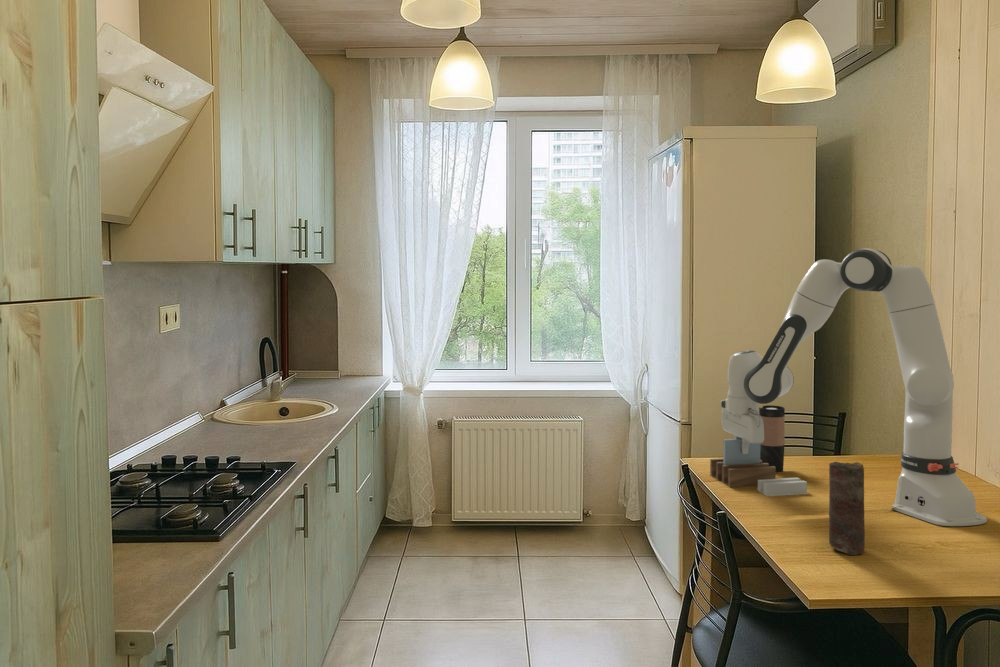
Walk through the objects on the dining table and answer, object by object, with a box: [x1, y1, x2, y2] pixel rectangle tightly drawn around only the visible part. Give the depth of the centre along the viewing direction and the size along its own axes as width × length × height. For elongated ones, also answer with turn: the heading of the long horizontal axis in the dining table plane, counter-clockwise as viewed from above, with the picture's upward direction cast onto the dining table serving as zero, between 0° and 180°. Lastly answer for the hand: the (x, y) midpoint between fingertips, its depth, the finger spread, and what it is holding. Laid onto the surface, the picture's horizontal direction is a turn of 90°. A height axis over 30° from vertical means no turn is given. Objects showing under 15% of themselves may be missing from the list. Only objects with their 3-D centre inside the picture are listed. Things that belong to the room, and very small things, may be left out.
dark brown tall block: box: [828, 461, 866, 556], centre depth 181 cm, size 8×7×20 cm
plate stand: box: [756, 476, 809, 497], centre depth 225 cm, size 7×12×4 cm, turn 100°
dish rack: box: [709, 457, 777, 489], centre depth 238 cm, size 14×14×6 cm
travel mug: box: [759, 404, 786, 473], centre depth 251 cm, size 8×8×20 cm
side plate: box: [722, 438, 760, 465], centre depth 238 cm, size 1×11×9 cm, turn 100°
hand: (742, 452), depth 238 cm, fingers closed on side plate, 1 cm apart
